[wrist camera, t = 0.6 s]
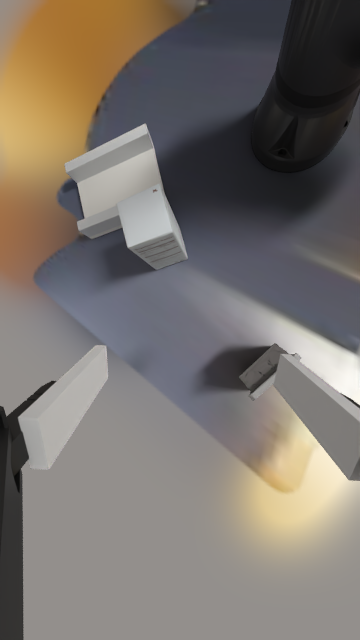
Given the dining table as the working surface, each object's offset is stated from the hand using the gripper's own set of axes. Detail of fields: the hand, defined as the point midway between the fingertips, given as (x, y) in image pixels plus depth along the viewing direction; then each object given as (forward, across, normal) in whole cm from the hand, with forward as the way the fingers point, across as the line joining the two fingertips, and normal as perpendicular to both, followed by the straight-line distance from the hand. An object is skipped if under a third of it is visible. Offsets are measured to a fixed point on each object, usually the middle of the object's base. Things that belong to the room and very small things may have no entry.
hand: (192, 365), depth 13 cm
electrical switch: (+18, +15, -10) cm, 26 cm away
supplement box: (+28, -4, +11) cm, 31 cm away
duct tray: (+34, -15, +22) cm, 43 cm away
